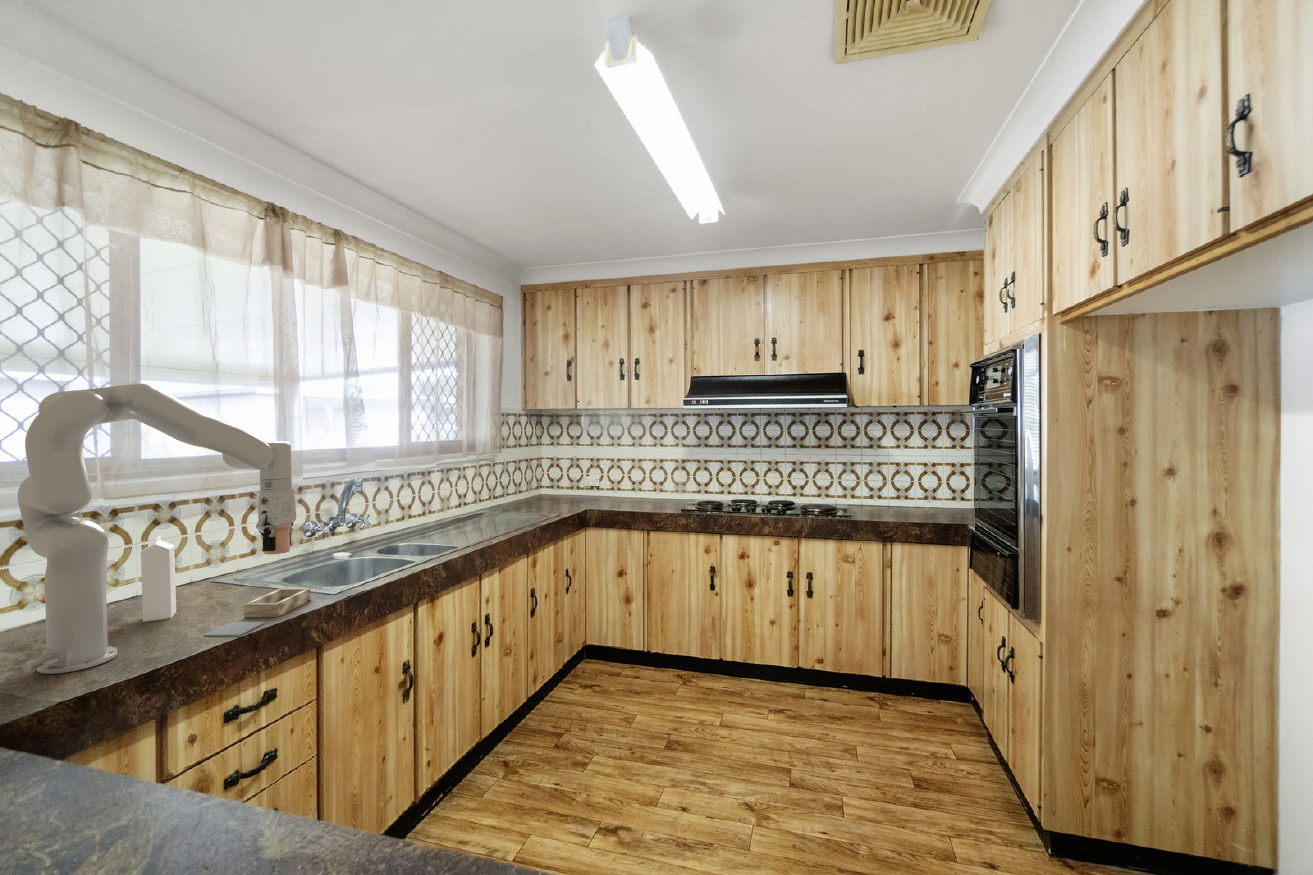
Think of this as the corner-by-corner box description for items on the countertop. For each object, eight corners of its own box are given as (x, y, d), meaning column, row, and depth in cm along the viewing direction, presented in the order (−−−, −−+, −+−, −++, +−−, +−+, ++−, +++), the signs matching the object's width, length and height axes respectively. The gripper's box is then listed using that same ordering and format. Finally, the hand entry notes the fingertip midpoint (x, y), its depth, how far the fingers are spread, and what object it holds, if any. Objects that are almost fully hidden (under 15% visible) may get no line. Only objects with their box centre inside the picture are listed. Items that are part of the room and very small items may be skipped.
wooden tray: (277, 617, 157) (277, 604, 157) (244, 617, 157) (244, 604, 157) (310, 600, 172) (310, 588, 172) (280, 600, 172) (280, 588, 172)
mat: (240, 636, 143) (240, 634, 143) (203, 636, 143) (203, 634, 143) (264, 623, 152) (264, 622, 152) (230, 623, 152) (230, 622, 152)
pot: (281, 554, 161) (281, 525, 160) (256, 554, 161) (255, 525, 160) (297, 549, 168) (296, 521, 167) (273, 549, 168) (272, 521, 167)
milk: (142, 622, 154) (139, 540, 153) (148, 615, 159) (145, 536, 158) (172, 618, 157) (168, 537, 156) (177, 611, 162) (174, 533, 161)
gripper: (268, 488, 155) (269, 555, 155) (307, 481, 172) (308, 542, 173) (240, 488, 155) (242, 555, 155) (282, 481, 172) (283, 542, 173)
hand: (277, 547), depth 164 cm, fingers closed on pot, 6 cm apart
